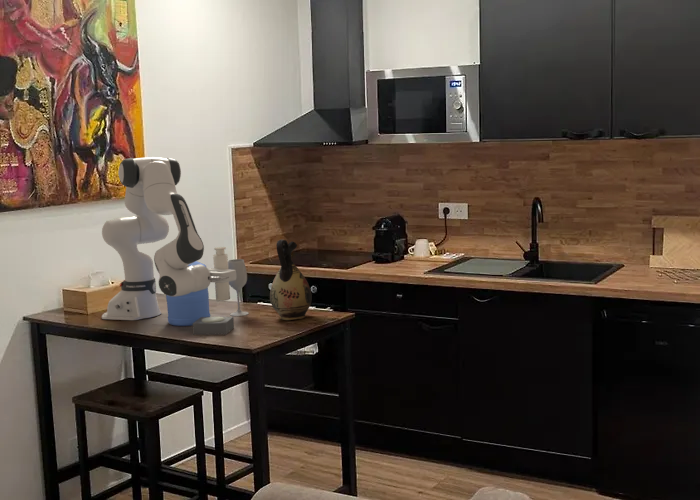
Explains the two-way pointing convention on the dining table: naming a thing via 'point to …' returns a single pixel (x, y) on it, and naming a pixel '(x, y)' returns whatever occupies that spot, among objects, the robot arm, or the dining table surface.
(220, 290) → the vase
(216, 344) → the dining table surface
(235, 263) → the wineglass
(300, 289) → the ceramic jug
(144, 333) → the dining table surface
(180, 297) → the water jug
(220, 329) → the plinth
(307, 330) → the dining table surface
